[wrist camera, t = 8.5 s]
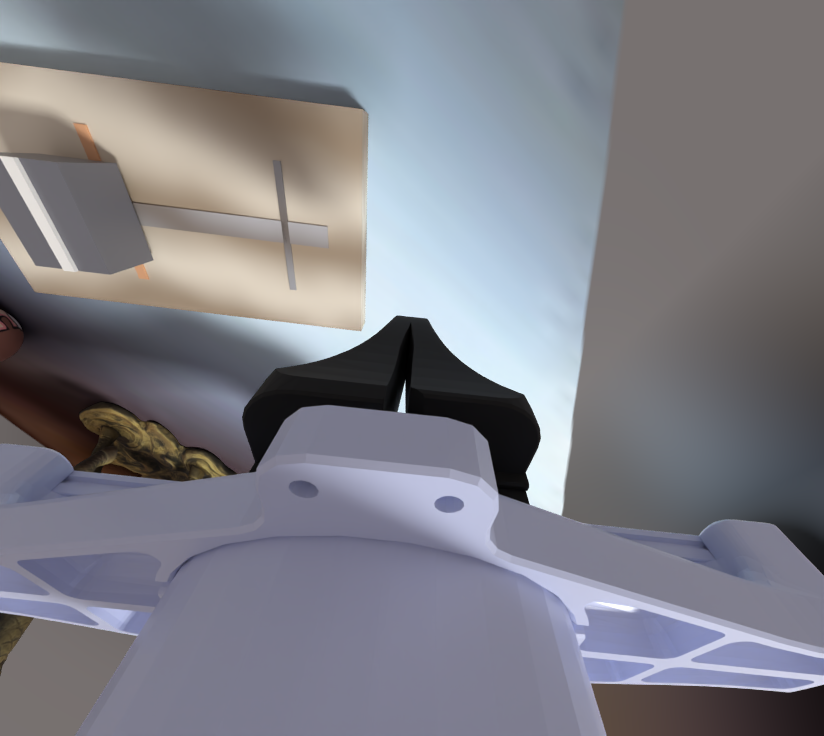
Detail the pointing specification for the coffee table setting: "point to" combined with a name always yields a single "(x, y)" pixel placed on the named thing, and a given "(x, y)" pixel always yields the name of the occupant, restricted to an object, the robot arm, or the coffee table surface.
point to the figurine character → (9, 336)
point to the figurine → (137, 451)
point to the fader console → (208, 193)
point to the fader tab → (71, 213)
